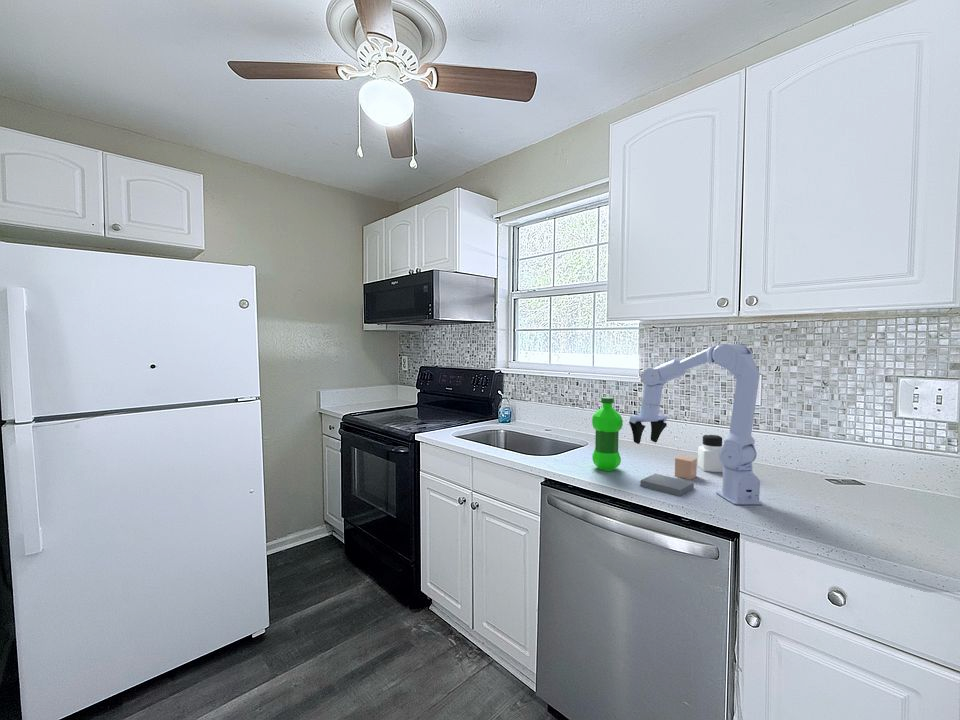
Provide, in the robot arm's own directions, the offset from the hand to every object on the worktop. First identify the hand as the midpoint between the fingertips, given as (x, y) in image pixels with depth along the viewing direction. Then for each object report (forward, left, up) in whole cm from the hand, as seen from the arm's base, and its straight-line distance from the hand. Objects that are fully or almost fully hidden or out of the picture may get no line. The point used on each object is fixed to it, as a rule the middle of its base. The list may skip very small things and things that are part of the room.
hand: (645, 442), depth 147 cm
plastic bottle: (+4, +12, -11) cm, 16 cm away
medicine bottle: (+4, -25, -11) cm, 27 cm away
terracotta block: (-4, -12, -10) cm, 16 cm away
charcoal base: (-15, -1, -10) cm, 18 cm away
